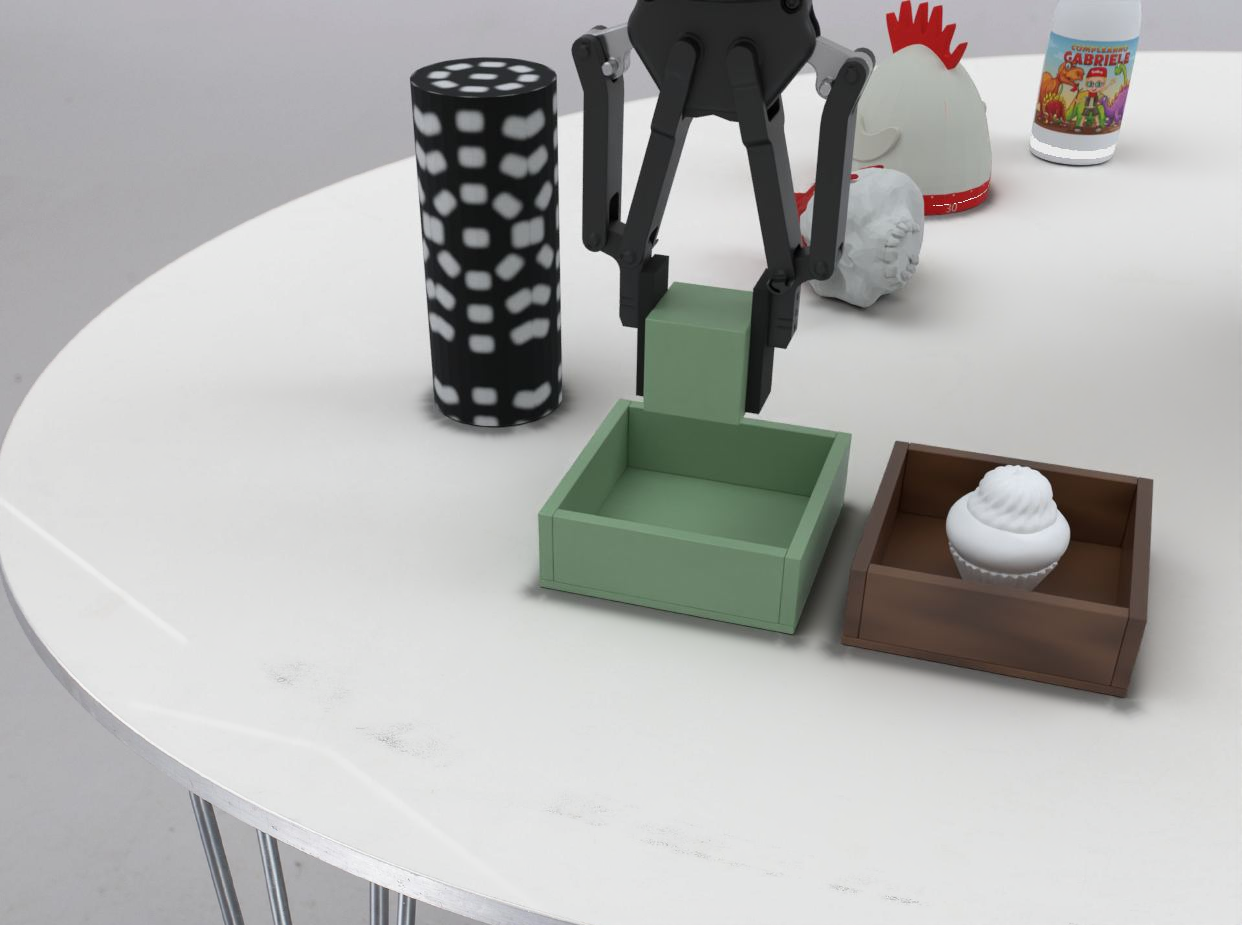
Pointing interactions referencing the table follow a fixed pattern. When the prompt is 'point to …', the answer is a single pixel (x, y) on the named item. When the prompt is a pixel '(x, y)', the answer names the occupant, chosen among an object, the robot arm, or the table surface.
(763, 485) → the green bin
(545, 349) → the spotted tube
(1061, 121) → the milk bottle
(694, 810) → the table surface
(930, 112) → the kitchen timer
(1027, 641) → the brown bin
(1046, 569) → the muffin
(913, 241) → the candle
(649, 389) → the green block
